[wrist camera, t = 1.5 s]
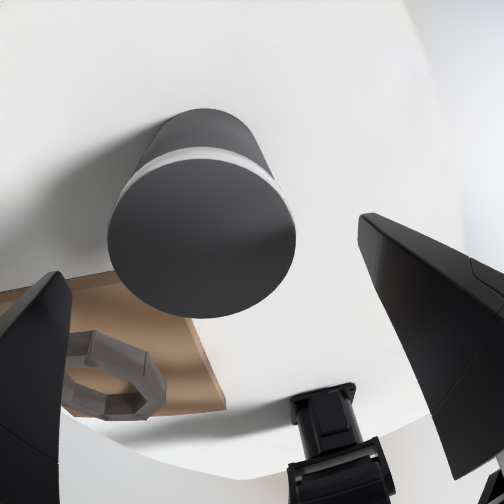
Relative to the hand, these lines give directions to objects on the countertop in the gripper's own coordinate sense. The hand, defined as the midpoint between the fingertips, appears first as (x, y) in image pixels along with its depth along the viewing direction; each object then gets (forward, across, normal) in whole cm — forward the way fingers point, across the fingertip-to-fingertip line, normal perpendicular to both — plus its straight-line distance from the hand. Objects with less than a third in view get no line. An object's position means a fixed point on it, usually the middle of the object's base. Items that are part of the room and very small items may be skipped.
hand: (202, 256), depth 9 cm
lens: (+7, 0, 0) cm, 7 cm away
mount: (+7, +11, +13) cm, 18 cm away
